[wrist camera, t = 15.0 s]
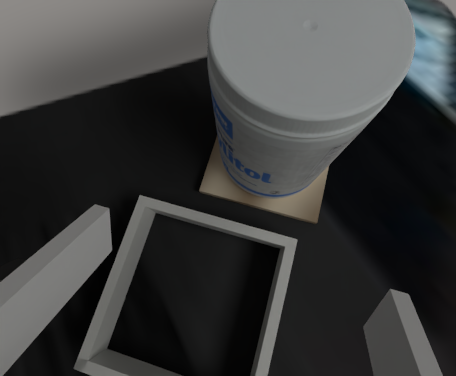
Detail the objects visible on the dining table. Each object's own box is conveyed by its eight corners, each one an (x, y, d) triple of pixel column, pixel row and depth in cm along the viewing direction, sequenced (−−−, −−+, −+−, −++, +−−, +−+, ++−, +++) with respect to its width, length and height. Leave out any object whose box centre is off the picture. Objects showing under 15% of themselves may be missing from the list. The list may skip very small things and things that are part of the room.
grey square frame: (94, 355, 23) (73, 368, 20) (150, 202, 26) (139, 195, 24) (252, 413, 22) (253, 435, 19) (290, 242, 25) (297, 239, 22)
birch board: (200, 192, 26) (199, 190, 26) (231, 95, 29) (231, 91, 28) (314, 224, 25) (317, 222, 24) (336, 119, 28) (339, 115, 27)
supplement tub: (201, 163, 26) (155, 46, 12) (258, 92, 28) (275, -83, 14) (287, 222, 25) (351, 166, 10) (342, 142, 26) (460, -1, 12)
